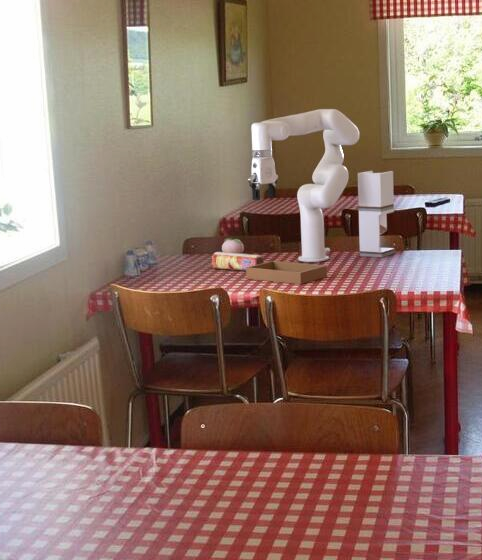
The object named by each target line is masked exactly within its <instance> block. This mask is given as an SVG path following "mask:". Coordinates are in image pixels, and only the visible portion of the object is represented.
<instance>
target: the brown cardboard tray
mask: <svg viewBox="0 0 482 560" xmlns="http://www.w3.org/2000/svg"><path fill="white" fill-rule="evenodd" d="M327 272H328V271H327V265H325V264H313V263H301V262H291V261H281V260H270V261H267V262H263V263H262V264H258V265H254V266H250V267H246V271H245V275H246V276H245V277H246V279H247V280H255V281H265V282H274V283H284V284H294V285H303V284H307V283H310V282H314V281H318V280H321V279H324V278H327V277H328V273H327Z"/></svg>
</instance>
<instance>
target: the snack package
mask: <svg viewBox="0 0 482 560" xmlns="http://www.w3.org/2000/svg"><path fill="white" fill-rule="evenodd" d="M262 263H264V258H263V256H262V255H260V254H247V253H242V254H235V253H224V252H223V251H216V252H214V253H213V254H212V256H211V265H212V268H213V269H215V270H232V271H245V272H246V267H250V266H254V265H258V264H262Z"/></svg>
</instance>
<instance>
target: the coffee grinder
mask: <svg viewBox="0 0 482 560" xmlns="http://www.w3.org/2000/svg"><path fill="white" fill-rule="evenodd" d="M357 197H358V198H357V199H358V234H359V235H358V236H359V238H358V240H359V256H360V257H371V258H385V257H387V256H390V255H394V254H395V251H396V249H395V248H393V247H381V235H383V234H385V233H386V232H387V230H388V221H387V220H388V219H387V218H388V217H387V214H392V213H395V205H394V204H395V203H394V202H395V201H394V197H395V195H394V171H393V170H390V171H384V172H374V171H373V170H368V171H361V172H358V173H357Z"/></svg>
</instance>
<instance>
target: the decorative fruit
mask: <svg viewBox="0 0 482 560" xmlns="http://www.w3.org/2000/svg"><path fill="white" fill-rule="evenodd" d="M244 246H245V245H244V244H243V242H242V241H241V239H238V238H234V237H233V236H231V238H225V239H224V240H223V244H222V245H221V252H224V253H235V254H244V253H243V252H244V251H245V247H244Z"/></svg>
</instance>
